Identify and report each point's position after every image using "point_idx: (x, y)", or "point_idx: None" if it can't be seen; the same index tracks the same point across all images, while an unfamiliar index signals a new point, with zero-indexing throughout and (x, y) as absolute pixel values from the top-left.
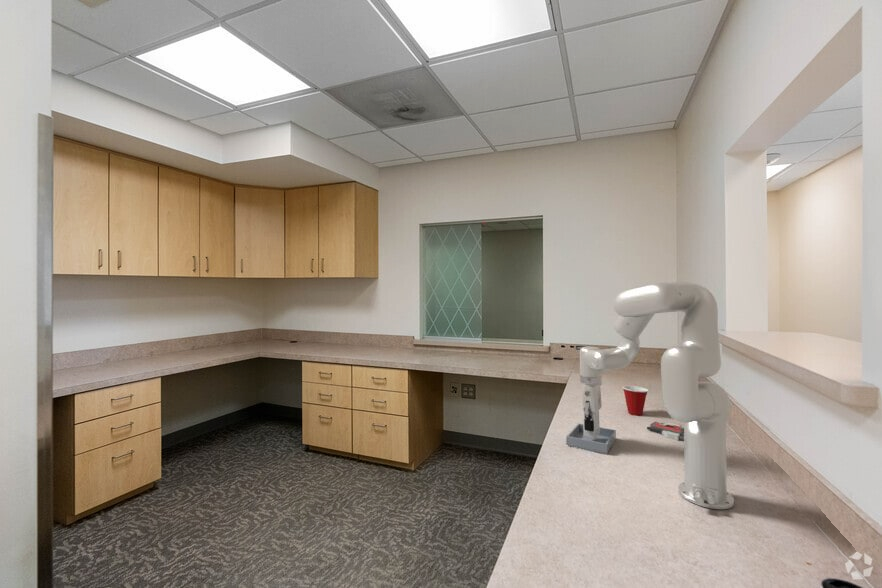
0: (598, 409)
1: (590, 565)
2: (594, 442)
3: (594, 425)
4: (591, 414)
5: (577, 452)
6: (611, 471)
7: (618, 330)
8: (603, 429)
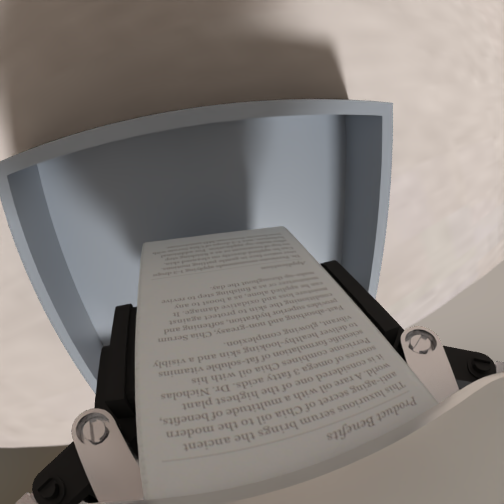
0: (404, 471)
1: None
2: (388, 192)
3: (340, 289)
4: (453, 393)
5: (388, 243)
6: (473, 69)
7: None
8: (38, 258)
